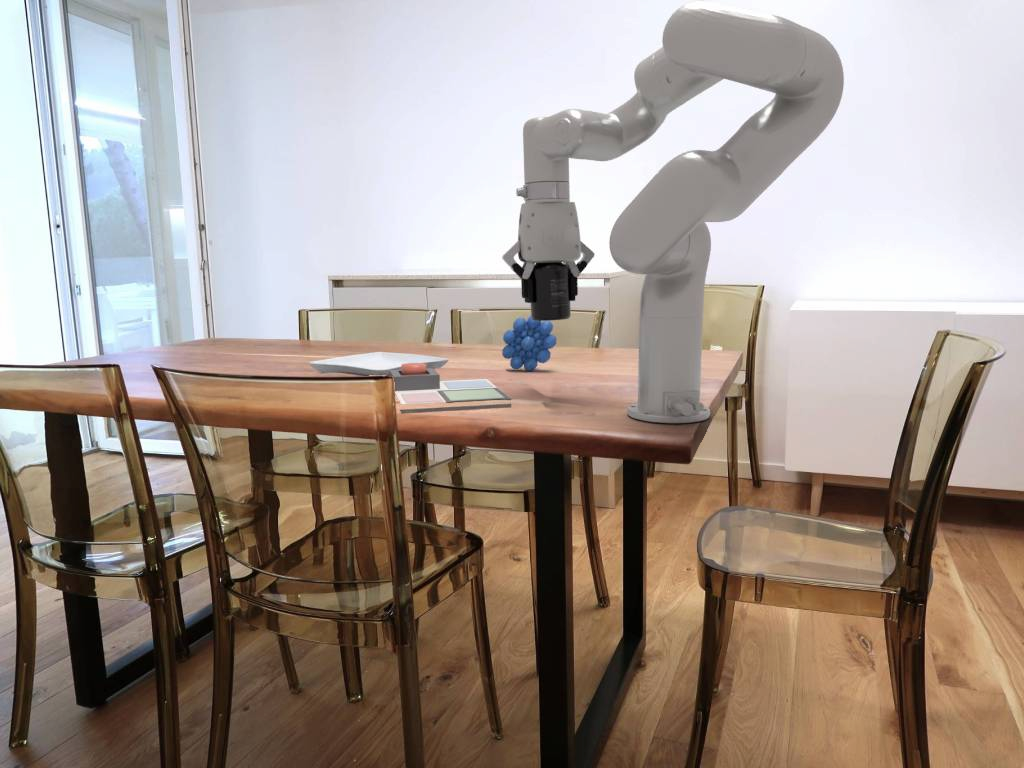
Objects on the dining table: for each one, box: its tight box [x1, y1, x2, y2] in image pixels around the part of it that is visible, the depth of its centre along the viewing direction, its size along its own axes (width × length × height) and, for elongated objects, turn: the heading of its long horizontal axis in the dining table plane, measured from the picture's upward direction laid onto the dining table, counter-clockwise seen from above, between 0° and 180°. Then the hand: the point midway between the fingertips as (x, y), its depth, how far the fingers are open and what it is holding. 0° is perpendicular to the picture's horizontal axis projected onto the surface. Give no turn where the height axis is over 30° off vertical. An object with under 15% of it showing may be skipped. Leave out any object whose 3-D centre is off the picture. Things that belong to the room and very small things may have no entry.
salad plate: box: [308, 351, 450, 376], centre depth 172 cm, size 21×21×3 cm
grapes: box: [501, 315, 558, 372], centre depth 174 cm, size 12×7×12 cm, turn 77°
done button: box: [401, 363, 426, 375], centre depth 148 cm, size 4×4×2 cm
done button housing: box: [389, 368, 441, 391], centre depth 148 cm, size 8×8×2 cm
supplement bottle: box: [530, 262, 572, 322], centre depth 141 cm, size 7×7×12 cm
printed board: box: [394, 378, 512, 414], centre depth 143 cm, size 21×18×2 cm
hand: (549, 300), depth 142 cm, fingers closed on supplement bottle, 6 cm apart
